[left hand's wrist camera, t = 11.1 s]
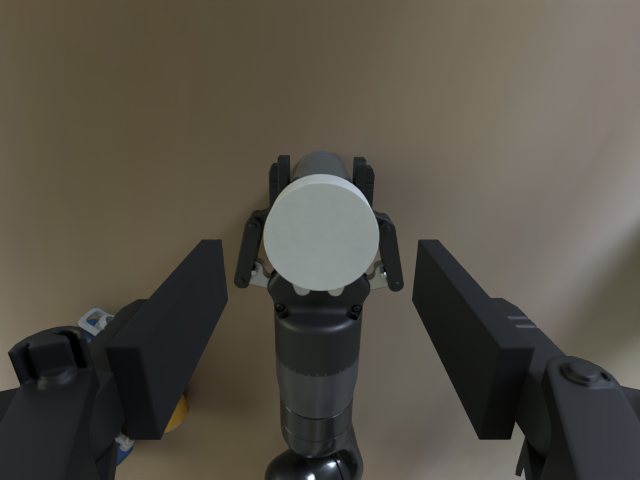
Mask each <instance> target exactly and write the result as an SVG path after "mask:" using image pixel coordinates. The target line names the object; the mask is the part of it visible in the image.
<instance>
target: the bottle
mask: <svg viewBox="0 0 640 480" xmlns="http://www.w3.org/2000/svg"><path fill="white" fill-rule="evenodd" d="M315 174H328V175H333V176H337V177H340V178H343V179H345V180H347V181H349V182H350V183H352V182H351V179H350V177H349V175H348V172H347V170H346V167H345V165H344V164H343V162H342V161H341V160H340V159H339V158H338V157H337V156H335V155H334V154H332V153H329V152H324V151H319V152H313V153H311V154H309V155H307V156H305V157H304V158H303V159H302V160H301V161H300V162H299V164H298V166H297V168H296V170H295V173H294V175H293V178H292V180H291V183H293V182H294V181H296V180H298V179H300V178H303V177H306V176H309V175H315ZM291 183H290V184H291Z"/></svg>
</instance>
